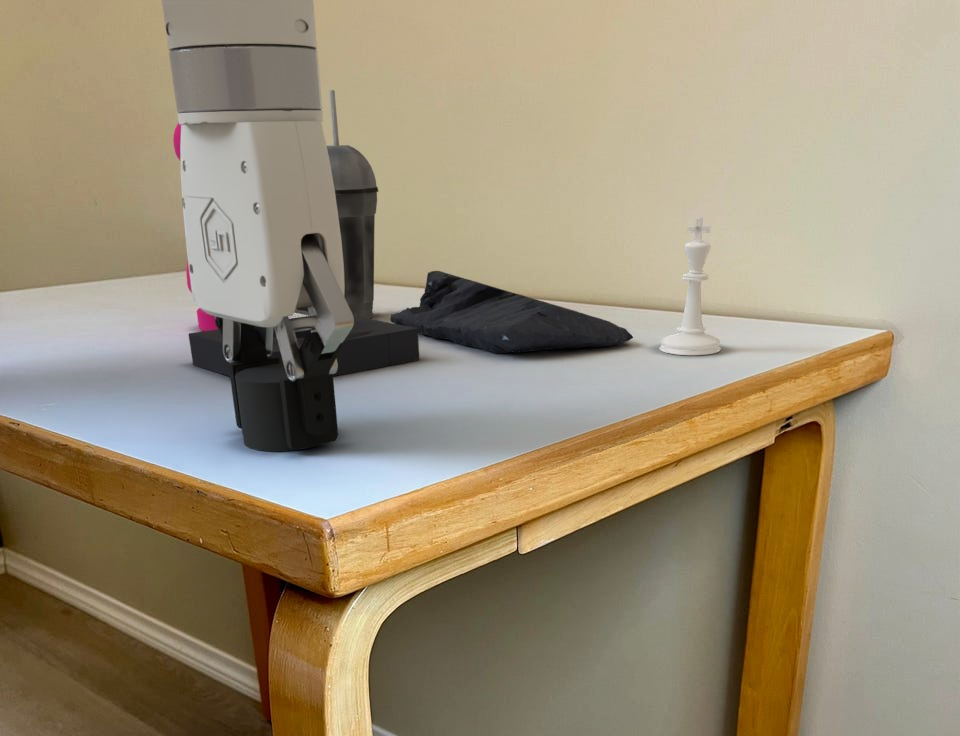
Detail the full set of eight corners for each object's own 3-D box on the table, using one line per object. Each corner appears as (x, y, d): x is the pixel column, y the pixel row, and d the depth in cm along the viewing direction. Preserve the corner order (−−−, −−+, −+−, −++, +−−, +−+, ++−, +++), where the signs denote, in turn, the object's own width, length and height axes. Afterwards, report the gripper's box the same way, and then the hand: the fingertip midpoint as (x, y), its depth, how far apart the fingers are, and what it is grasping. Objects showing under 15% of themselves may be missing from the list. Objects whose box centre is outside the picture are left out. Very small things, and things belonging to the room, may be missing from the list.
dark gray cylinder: (271, 456, 58) (262, 386, 56) (228, 439, 61) (219, 372, 59) (347, 439, 61) (341, 372, 59) (301, 423, 64) (295, 359, 62)
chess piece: (667, 342, 85) (675, 214, 81) (725, 345, 84) (737, 215, 79) (653, 353, 81) (660, 219, 77) (714, 357, 80) (725, 220, 75)
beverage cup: (314, 325, 97) (291, 88, 88) (313, 313, 104) (292, 92, 94) (389, 321, 98) (374, 87, 89) (383, 310, 104) (369, 90, 95)
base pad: (266, 388, 73) (262, 353, 72) (192, 365, 81) (187, 333, 80) (419, 360, 81) (418, 328, 80) (338, 341, 89) (335, 312, 88)
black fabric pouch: (483, 366, 78) (482, 303, 76) (381, 325, 96) (378, 273, 94) (647, 346, 84) (650, 286, 82) (522, 311, 102) (522, 261, 100)
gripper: (114, 99, 56) (167, 420, 64) (267, 84, 45) (308, 479, 53) (234, 98, 60) (270, 400, 69) (403, 85, 49) (422, 451, 57)
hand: (286, 431), depth 61 cm, fingers closed on dark gray cylinder, 5 cm apart
